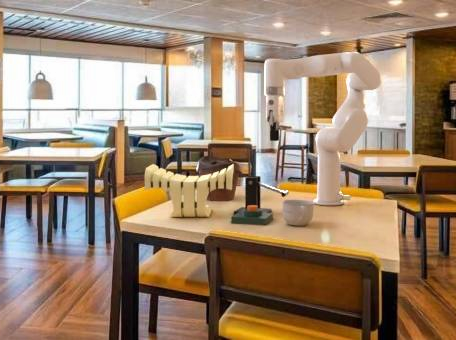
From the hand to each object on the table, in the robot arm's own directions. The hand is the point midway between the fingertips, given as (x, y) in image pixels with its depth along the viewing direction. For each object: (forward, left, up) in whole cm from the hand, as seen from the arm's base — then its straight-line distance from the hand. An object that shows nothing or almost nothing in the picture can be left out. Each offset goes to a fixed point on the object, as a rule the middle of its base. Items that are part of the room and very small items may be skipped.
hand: (274, 140), depth 205 cm
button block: (+2, +21, -27) cm, 34 cm away
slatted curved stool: (+27, +16, -27) cm, 41 cm away
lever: (+1, +8, -18) cm, 20 cm away
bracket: (+6, +8, -27) cm, 29 cm away
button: (+2, +21, -23) cm, 31 cm away
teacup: (-15, +23, -27) cm, 39 cm away
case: (+29, -18, -27) cm, 44 cm away
